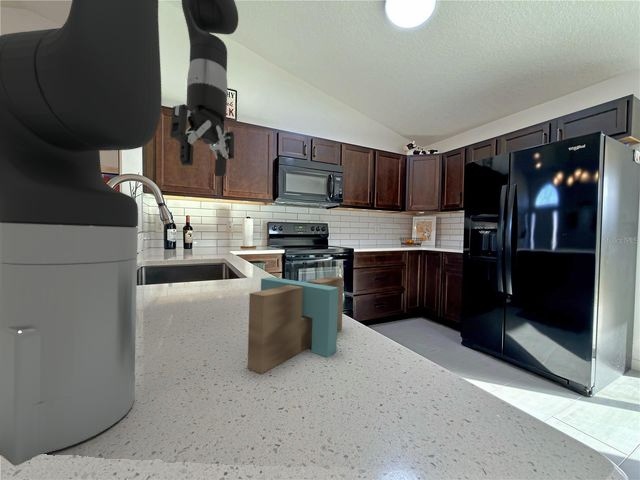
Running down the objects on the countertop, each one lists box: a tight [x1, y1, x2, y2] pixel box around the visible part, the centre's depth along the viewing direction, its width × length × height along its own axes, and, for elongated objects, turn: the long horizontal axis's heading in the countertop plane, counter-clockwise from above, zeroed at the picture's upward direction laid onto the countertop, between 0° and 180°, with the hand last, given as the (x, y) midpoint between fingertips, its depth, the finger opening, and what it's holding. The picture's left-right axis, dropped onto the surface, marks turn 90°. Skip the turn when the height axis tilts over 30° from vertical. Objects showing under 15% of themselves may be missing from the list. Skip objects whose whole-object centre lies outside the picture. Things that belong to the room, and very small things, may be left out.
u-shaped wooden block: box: [247, 275, 344, 375], centre depth 42 cm, size 20×2×10 cm, turn 146°
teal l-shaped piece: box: [260, 276, 339, 358], centre depth 43 cm, size 14×2×10 cm, turn 56°
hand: (204, 171), depth 55 cm, fingers open, 8 cm apart
